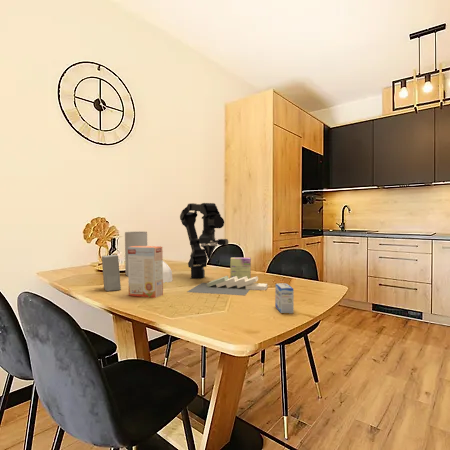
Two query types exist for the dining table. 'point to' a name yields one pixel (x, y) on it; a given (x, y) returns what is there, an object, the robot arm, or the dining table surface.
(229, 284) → the domino
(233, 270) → the box
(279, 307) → the medicine box
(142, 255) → the cracker box
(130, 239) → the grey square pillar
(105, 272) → the skincare box
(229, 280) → the domino
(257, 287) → the domino
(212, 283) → the domino
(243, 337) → the dining table surface
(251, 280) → the domino
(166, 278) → the teardrop
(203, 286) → the mat
